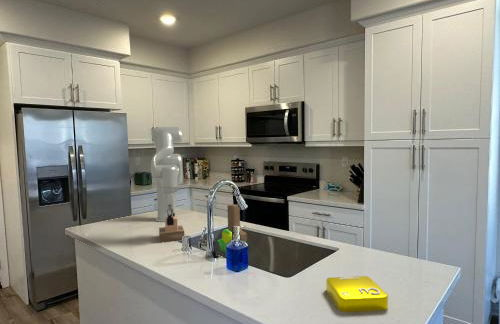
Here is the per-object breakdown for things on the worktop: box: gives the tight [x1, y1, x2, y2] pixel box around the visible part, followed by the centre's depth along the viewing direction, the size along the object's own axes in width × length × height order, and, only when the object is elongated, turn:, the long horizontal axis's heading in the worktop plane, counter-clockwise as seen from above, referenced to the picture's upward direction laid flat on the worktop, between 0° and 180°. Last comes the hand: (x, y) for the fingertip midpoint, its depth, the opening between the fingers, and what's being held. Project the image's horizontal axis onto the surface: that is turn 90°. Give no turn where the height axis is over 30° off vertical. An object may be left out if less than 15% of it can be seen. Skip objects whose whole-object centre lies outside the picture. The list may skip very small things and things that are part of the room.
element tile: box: [325, 275, 389, 313], centre depth 100 cm, size 15×15×5 cm
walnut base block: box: [158, 225, 185, 244], centre depth 166 cm, size 12×12×5 cm
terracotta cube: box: [164, 215, 179, 231], centre depth 166 cm, size 6×6×6 cm
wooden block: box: [226, 203, 248, 243], centre depth 159 cm, size 9×4×18 cm, turn 50°
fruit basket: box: [217, 228, 246, 254], centre depth 143 cm, size 11×9×11 cm
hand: (171, 222), depth 166 cm, fingers open, 9 cm apart
